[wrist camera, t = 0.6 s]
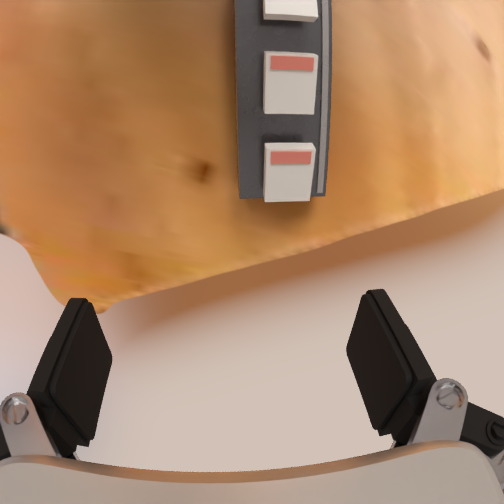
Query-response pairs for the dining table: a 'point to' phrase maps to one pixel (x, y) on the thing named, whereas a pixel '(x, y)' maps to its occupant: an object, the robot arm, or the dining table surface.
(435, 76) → the dining table surface
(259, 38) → the power strip
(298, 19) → the plate
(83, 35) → the dining table surface
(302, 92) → the rocker
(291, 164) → the rocker
